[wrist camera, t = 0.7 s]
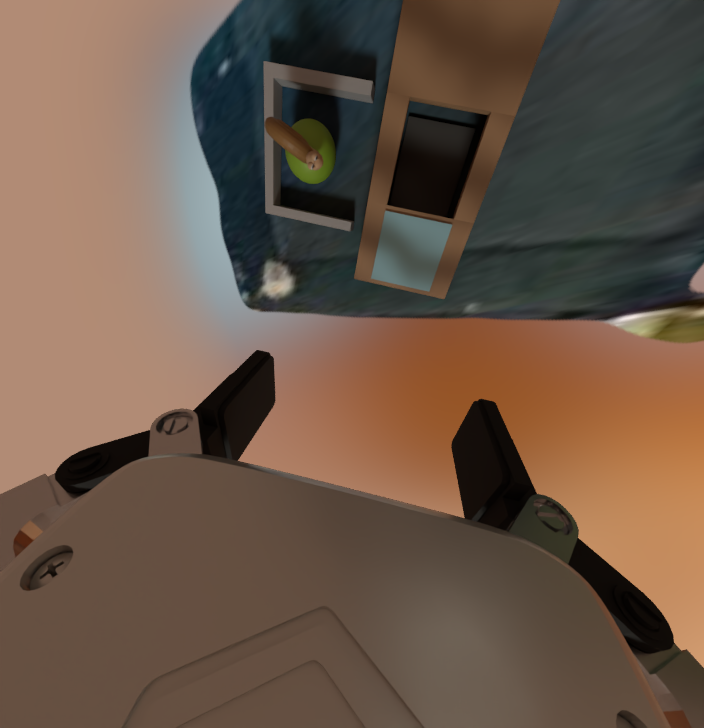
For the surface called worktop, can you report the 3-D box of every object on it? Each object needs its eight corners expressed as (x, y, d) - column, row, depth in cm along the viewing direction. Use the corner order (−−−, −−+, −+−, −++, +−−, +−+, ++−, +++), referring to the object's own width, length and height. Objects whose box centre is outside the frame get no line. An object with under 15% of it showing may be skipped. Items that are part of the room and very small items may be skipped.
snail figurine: (333, 200, 32) (300, 197, 22) (289, 167, 31) (233, 148, 21) (356, 152, 29) (330, 123, 19) (308, 114, 28) (253, 63, 18)
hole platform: (413, -10, 22) (415, -75, 17) (538, 11, 22) (580, -50, 17) (361, 268, 36) (353, 278, 30) (438, 285, 35) (444, 299, 30)
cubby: (273, 70, 27) (263, 61, 25) (375, 90, 26) (372, 81, 24) (273, 212, 34) (265, 212, 32) (353, 229, 33) (350, 231, 31)
